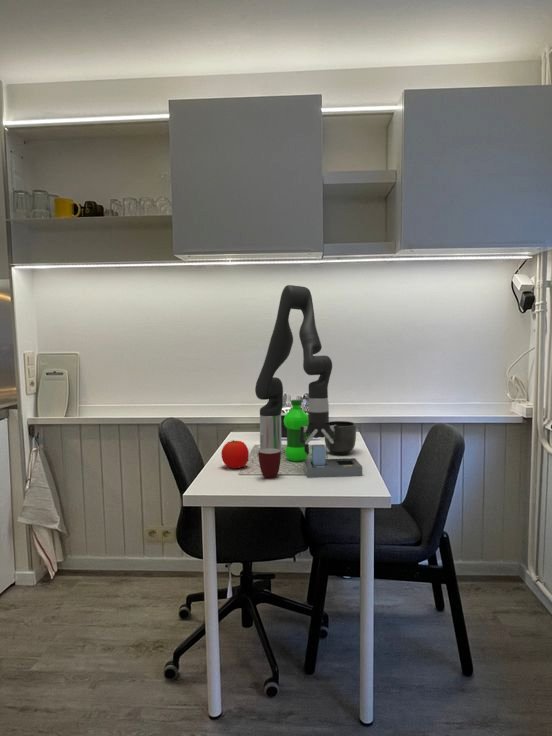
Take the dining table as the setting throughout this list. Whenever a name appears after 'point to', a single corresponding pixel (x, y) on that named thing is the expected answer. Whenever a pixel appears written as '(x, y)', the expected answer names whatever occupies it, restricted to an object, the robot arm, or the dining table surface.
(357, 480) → the dining table surface
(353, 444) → the planter
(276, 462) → the mug
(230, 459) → the tomato
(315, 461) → the plug
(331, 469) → the panel
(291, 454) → the plastic bottle
